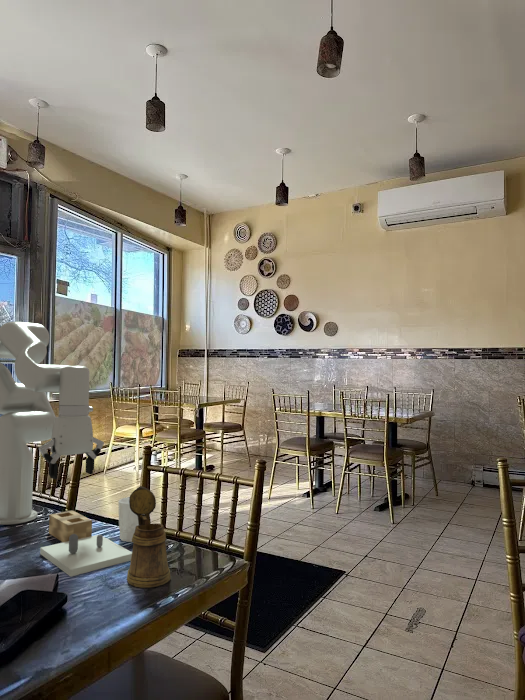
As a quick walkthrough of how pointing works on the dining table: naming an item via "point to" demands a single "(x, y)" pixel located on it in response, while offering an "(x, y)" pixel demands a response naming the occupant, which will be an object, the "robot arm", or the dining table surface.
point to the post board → (85, 554)
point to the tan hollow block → (69, 525)
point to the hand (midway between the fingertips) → (71, 475)
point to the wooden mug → (147, 544)
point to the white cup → (126, 520)
